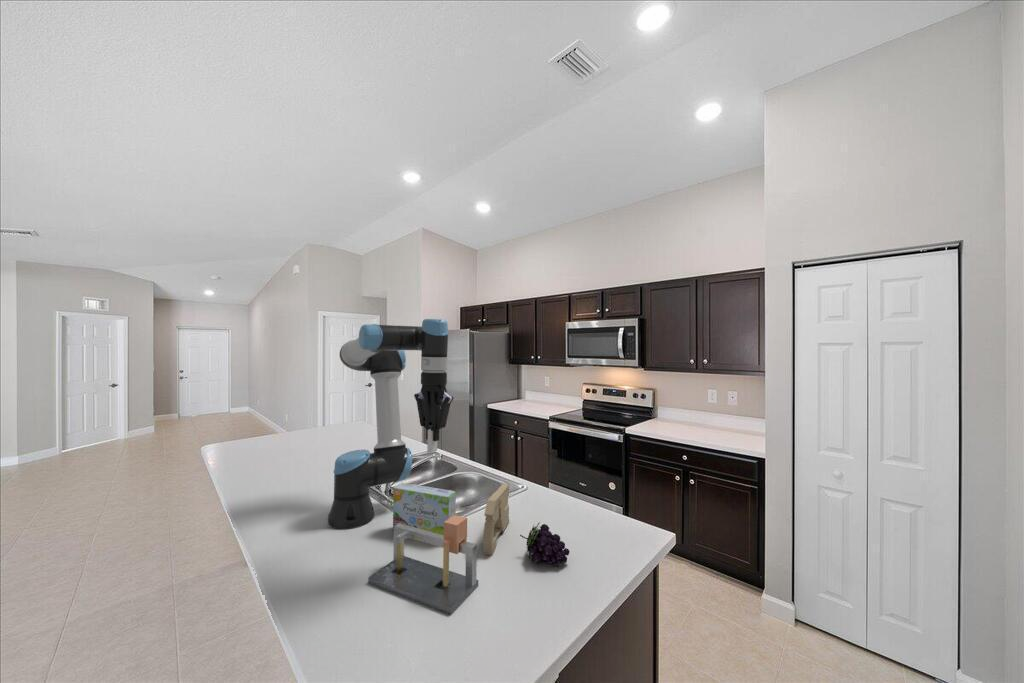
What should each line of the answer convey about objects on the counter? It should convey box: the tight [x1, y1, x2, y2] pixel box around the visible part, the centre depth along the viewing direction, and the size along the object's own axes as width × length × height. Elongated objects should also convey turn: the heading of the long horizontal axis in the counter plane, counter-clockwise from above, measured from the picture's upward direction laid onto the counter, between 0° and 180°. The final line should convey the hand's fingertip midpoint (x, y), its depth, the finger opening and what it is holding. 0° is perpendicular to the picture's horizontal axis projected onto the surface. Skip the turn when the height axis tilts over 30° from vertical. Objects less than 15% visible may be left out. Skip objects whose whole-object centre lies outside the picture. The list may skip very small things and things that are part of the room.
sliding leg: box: [442, 515, 468, 587], centre depth 97 cm, size 4×7×15 cm, turn 154°
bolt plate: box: [367, 555, 479, 616], centre depth 97 cm, size 26×12×2 cm, turn 64°
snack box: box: [392, 482, 457, 535], centre depth 124 cm, size 21×6×15 cm, turn 70°
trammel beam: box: [392, 523, 478, 586], centre depth 99 cm, size 26×6×11 cm, turn 64°
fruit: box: [519, 521, 570, 566], centre depth 110 cm, size 10×11×15 cm
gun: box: [482, 483, 510, 556], centre depth 123 cm, size 24×3×15 cm, turn 168°
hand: (432, 451), depth 111 cm, fingers closed
